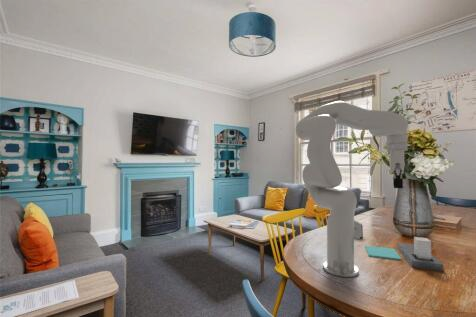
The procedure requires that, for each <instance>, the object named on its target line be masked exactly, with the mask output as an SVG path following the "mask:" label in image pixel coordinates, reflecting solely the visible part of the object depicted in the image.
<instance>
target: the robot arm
mask: <svg viewBox="0 0 476 317" xmlns="http://www.w3.org/2000/svg"><path fill="white" fill-rule="evenodd" d="M337 125H341V126H343V127H347V128H351V129H353V130H359V131H368V132H369V133H370V134H371V135H372V136H373V137H377V138H379V137H380V138H381V137H386V152H389V173H390V174H393V177H392V178H393V184H392V185H393V189H403V188H404V181H403V174H404V171H405V152H406V151H409V150H408V128H409V123H408V120H407V119H406V118H405V117H404V116H403V115H401V114H399V113H397V112H392V111H389V110H378V109H367V108H366V109H365V108H363V107H360V106H357V105H355V104H352V103H348V102H346V101H342V100H337V101H333V102H330V103H327V104H322V105H321V106H319V107H318V108H316V109H314V110H313V111H311V112H310V113H309V114H308V115H306V116H304V117H303V118H302V119H300V120H299V121H298V122H297V124H296V126H295V134H296V136H297V137H298V138H299V139H301V140H302V141H308V143H307V148H306V156H307V159H308V162H309V163H307V164H306V165H305V166H304V168H303V169H302V173H301V174H302V176H301V178H302V181H303V184H304V185H305V188H306V189H307V191H308V193H309V196H310V198H311V199H312V201H313V202H314V204H315V205H316V206H317V207H319V208H322V209H325V210H330V214H329V215H328V218H327V221H326V247H327V248H326V255H327V256H326V260H325V261H324V262H323V263H322V269H323V270H324V271H326V272H327V273H329V274H331V275H333V276H335V277H336V276H337V277H341V278H342V277H343V278H353V277H356V276H358V275H359V273H360V269H359V267H358V266H357V265H355V238H354V220H355V212H356V207H357V202H358V200H357V195H356V194H355V192H354V191H353V190H351V189H350V188H348V187H343V186H340V185H341V183H342V181H343V175H342V173H341V170H340V168H339V165H338V164H337V161H336V159H335V156H334V155H333V153H332V148H331V144H332V139H333V136H334V134H335V131H336V129H337V128H336V126H337Z"/></svg>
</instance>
